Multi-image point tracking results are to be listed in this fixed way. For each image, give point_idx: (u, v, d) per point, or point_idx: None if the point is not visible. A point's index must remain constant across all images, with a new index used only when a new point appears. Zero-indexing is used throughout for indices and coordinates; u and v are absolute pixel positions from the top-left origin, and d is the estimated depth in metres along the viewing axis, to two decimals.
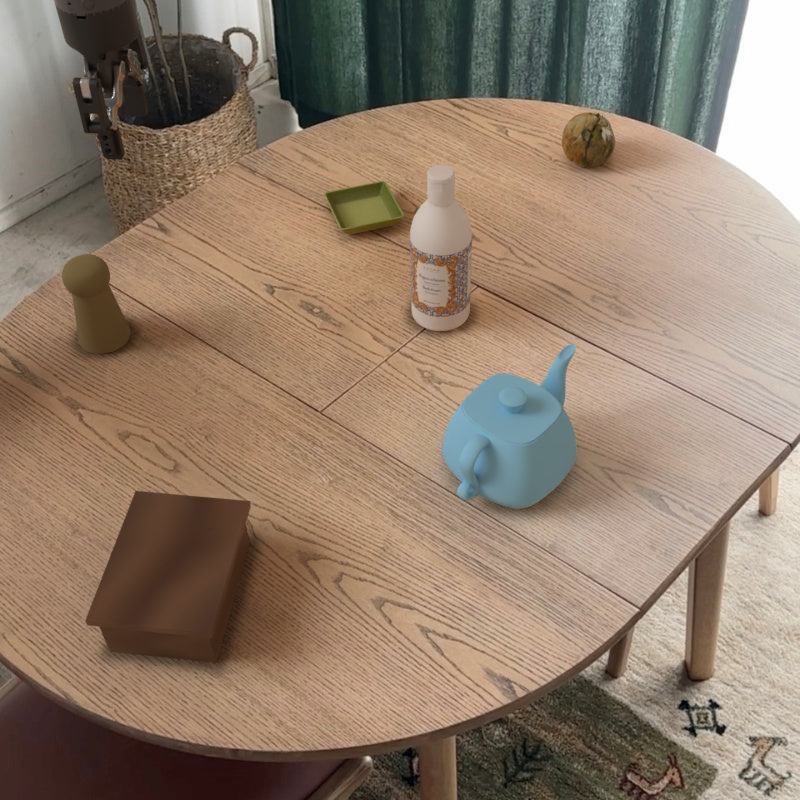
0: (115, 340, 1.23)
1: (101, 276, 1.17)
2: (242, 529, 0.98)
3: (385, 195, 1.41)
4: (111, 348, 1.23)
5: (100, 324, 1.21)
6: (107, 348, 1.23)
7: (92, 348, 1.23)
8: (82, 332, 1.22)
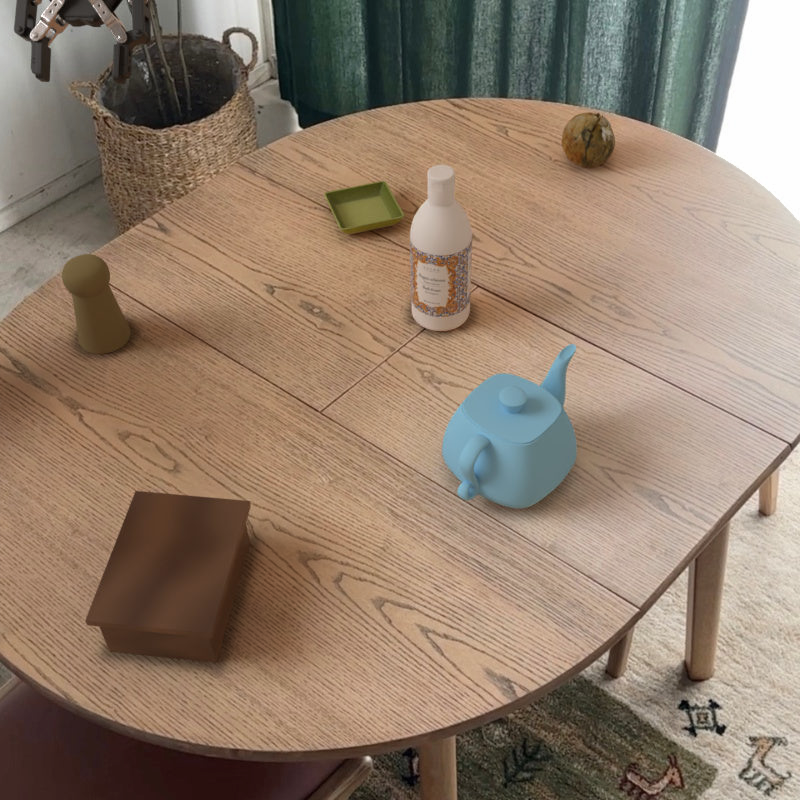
0: (115, 340, 1.23)
1: (101, 276, 1.17)
2: (242, 529, 0.98)
3: (385, 195, 1.41)
4: (111, 348, 1.23)
5: (100, 324, 1.21)
6: (107, 348, 1.23)
7: (92, 348, 1.23)
8: (82, 332, 1.22)
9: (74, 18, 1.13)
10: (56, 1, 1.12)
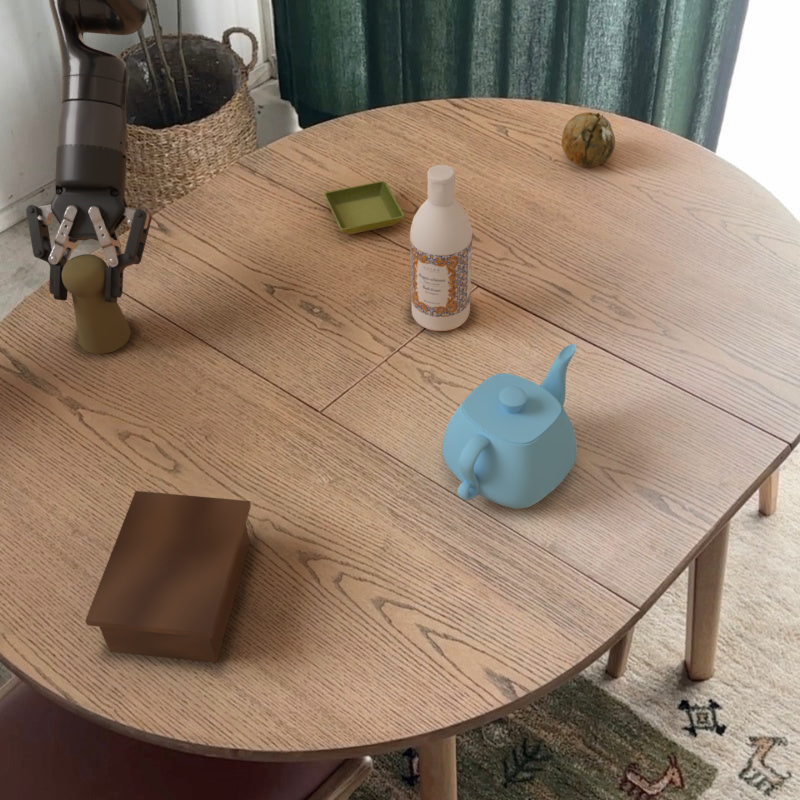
0: (115, 340, 1.23)
1: (101, 276, 1.17)
2: (242, 529, 0.98)
3: (385, 195, 1.41)
4: (111, 348, 1.23)
5: (100, 324, 1.21)
6: (107, 348, 1.23)
7: (92, 348, 1.23)
8: (82, 332, 1.22)
9: (80, 236, 1.18)
10: (62, 220, 1.17)
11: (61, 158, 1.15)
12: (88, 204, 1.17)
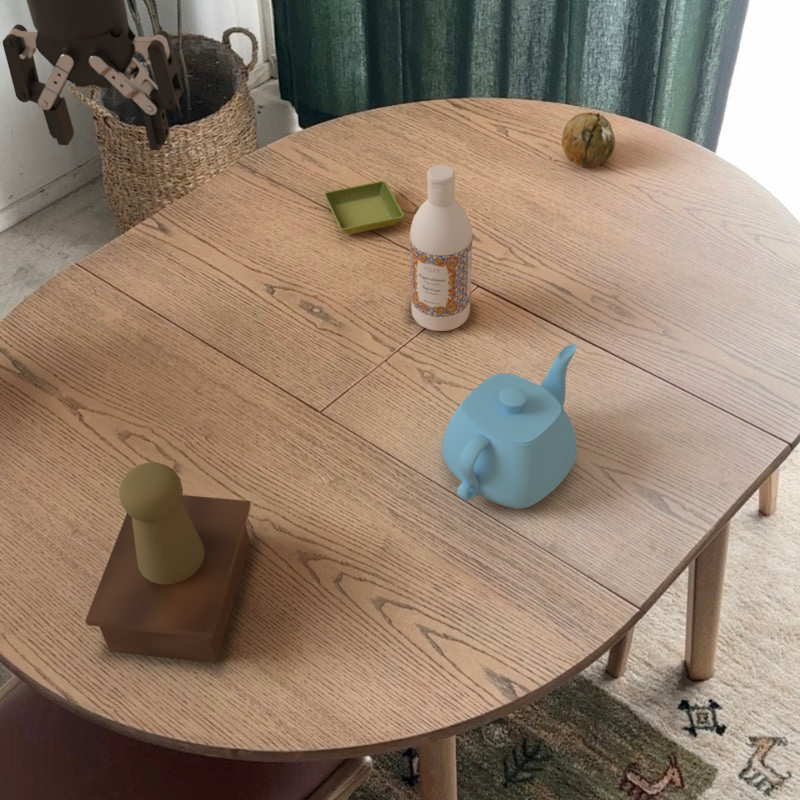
0: (186, 568, 0.93)
1: (172, 497, 0.88)
2: (242, 529, 0.98)
3: (385, 195, 1.41)
4: (181, 577, 0.93)
5: (168, 551, 0.91)
6: (176, 578, 0.93)
7: (156, 578, 0.93)
8: (144, 559, 0.92)
9: (86, 84, 0.90)
10: (59, 71, 0.89)
11: (32, 3, 0.83)
12: (85, 47, 0.87)
